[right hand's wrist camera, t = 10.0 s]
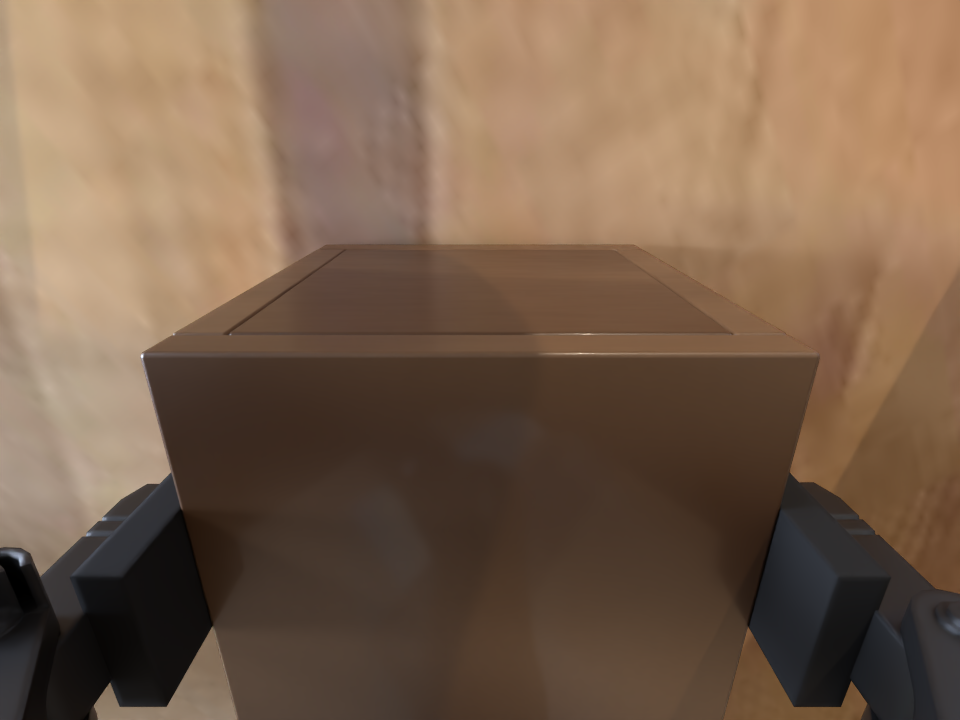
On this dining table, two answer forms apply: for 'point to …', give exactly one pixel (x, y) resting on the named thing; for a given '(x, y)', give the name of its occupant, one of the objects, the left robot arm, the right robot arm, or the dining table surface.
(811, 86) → the dining table surface
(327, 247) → the cabinet
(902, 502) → the dining table surface
